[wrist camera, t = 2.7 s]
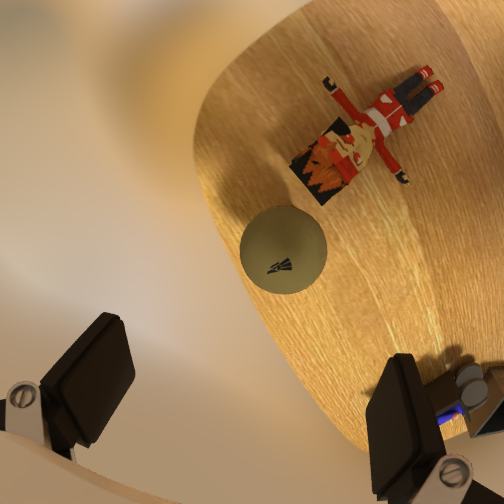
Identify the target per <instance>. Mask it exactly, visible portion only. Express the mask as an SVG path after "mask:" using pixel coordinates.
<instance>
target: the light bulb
mask: <svg viewBox="0 0 504 504" xmlns="http://www.w3.org/2000/svg"><path fill="white" fill-rule="evenodd" d="M240 259H241V263H242V266H243V268H244V270H245V273H246V274H247V276H248V277H249V278H250V280H251V281H252V282H253V283H255V284H256V285H257V286H259V287H260V288H262V289H264V290H266V291H268V292H271V293H275V294H293V293H296V292H300V291H302V290H304V289H306V288H307V287H309V286H310V285H311V284H312V283H313V282H314V281H315V280H316V279H317V278H318V277H319V275H320V274H321V272H322V270H323V268H324V266H325V262H326V259H327V242H326V238H325V235H324V232H323V230H322V229H321V227H320V225H319V224H318V223H317V222H316V220H315V219H314V218H313V217H311V216H310V215H309V214H307V213H306V212H304V211H302V210H300V209H297V208H294V207H288V206H280V207H274V208H270V209H267V210H265V211H263V212H261V213H260V214H258V215H257V216H256V217H254V218H253V219H252V221H251V222H250V223H249V224H248V225H247V227H246V229H245V230H244V232H243V235H242V238H241V243H240Z"/></svg>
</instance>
